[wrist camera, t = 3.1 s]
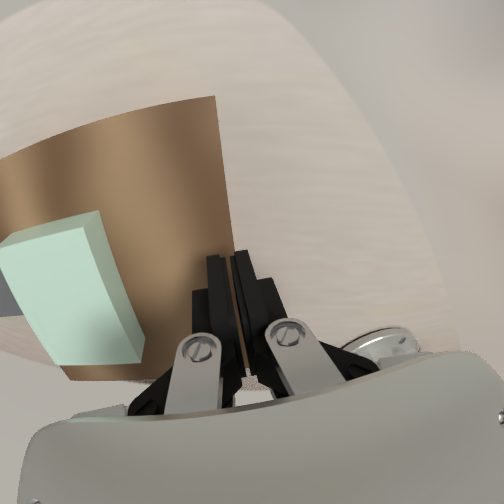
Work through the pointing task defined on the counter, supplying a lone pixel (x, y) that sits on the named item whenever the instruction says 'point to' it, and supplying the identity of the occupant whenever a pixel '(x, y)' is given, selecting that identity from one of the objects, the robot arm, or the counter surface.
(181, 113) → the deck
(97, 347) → the mint green block
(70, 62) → the counter surface
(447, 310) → the counter surface
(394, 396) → the robot arm
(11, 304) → the mat
